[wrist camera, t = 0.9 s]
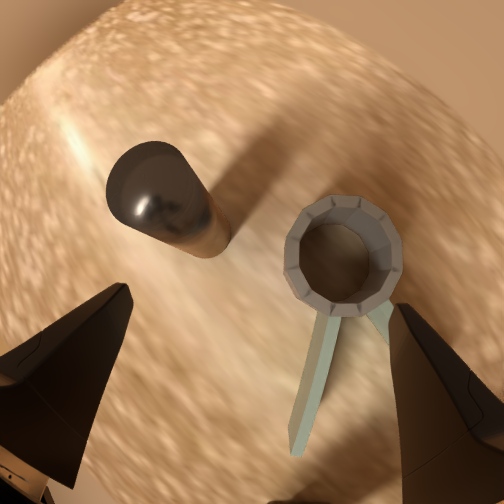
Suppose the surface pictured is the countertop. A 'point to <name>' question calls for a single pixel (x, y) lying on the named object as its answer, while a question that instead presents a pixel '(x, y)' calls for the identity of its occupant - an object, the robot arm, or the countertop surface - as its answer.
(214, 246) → the hinge pin
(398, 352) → the robot arm
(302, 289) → the grey forked piece
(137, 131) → the countertop surface
